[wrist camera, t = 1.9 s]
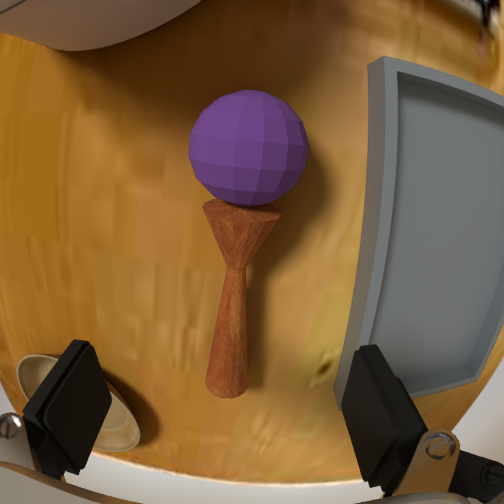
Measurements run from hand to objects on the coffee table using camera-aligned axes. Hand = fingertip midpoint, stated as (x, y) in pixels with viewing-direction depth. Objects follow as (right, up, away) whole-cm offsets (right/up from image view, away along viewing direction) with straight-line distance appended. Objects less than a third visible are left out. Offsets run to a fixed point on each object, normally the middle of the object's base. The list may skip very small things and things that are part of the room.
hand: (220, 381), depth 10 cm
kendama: (0, +4, +10) cm, 11 cm away
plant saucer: (-17, -11, +16) cm, 25 cm away
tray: (+16, +4, +10) cm, 20 cm away
